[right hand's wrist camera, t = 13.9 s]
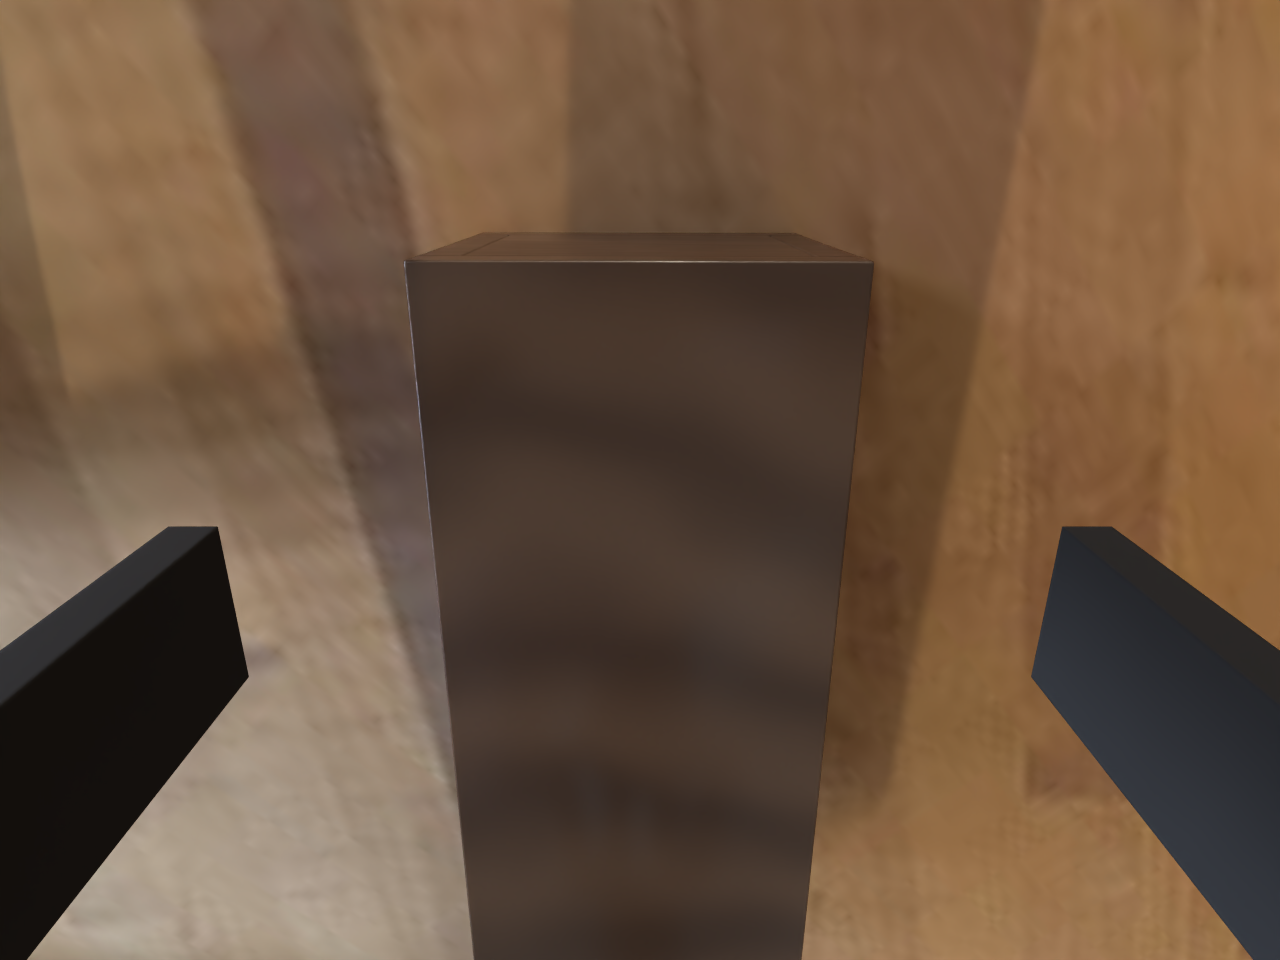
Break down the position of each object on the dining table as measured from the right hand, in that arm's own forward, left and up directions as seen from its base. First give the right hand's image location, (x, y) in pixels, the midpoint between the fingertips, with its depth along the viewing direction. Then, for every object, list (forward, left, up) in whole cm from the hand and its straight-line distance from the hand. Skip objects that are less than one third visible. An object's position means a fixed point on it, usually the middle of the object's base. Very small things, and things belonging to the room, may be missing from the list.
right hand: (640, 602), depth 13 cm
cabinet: (+1, -6, -16) cm, 17 cm away
